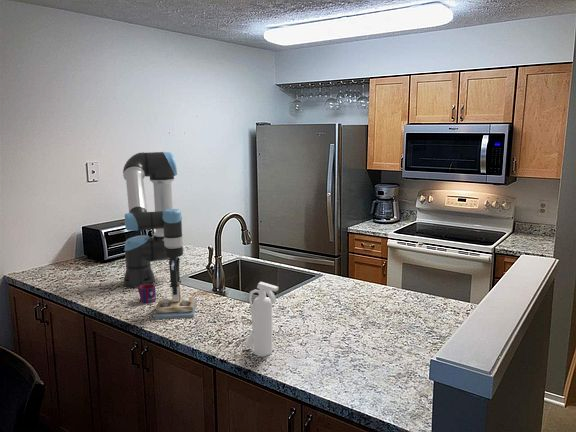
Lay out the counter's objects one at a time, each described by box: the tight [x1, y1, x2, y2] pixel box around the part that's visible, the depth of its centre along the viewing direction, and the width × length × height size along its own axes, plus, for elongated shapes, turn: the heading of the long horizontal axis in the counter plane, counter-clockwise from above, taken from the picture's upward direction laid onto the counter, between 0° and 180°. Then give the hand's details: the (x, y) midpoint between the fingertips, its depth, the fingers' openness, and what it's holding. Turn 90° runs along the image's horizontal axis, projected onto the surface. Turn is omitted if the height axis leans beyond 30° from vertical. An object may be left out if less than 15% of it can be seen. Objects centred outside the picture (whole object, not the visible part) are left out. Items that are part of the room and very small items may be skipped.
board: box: [153, 297, 198, 320], centre depth 195 cm, size 16×16×5 cm
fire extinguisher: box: [245, 281, 279, 357], centre depth 157 cm, size 7×12×25 cm, turn 61°
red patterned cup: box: [137, 283, 157, 305], centre depth 207 cm, size 7×10×7 cm
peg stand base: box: [155, 282, 196, 313], centre depth 194 cm, size 15×11×10 cm
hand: (176, 299), depth 196 cm, fingers closed on peg stand base, 3 cm apart
